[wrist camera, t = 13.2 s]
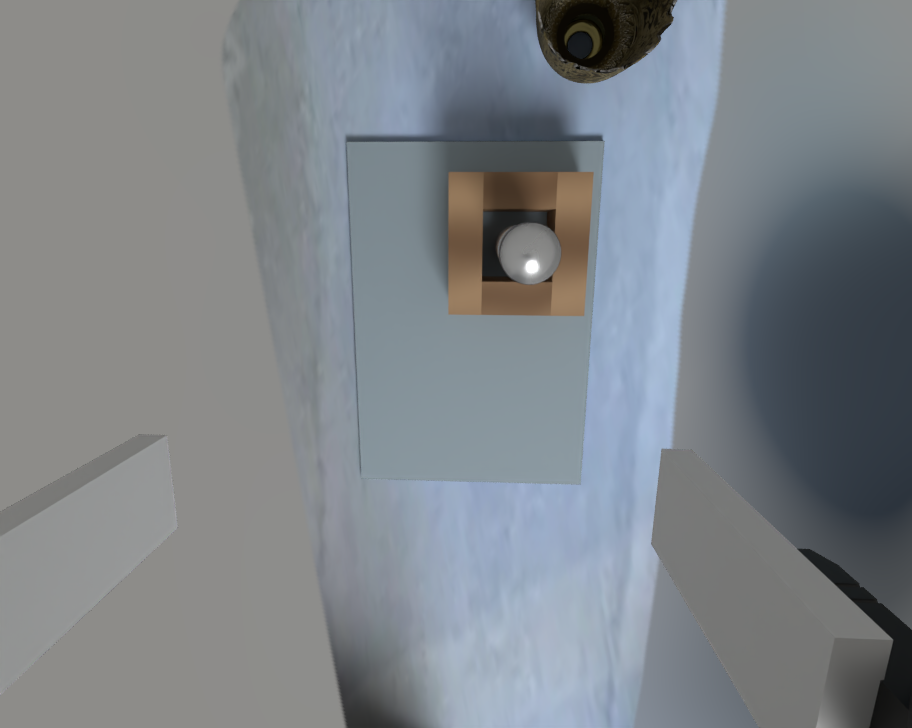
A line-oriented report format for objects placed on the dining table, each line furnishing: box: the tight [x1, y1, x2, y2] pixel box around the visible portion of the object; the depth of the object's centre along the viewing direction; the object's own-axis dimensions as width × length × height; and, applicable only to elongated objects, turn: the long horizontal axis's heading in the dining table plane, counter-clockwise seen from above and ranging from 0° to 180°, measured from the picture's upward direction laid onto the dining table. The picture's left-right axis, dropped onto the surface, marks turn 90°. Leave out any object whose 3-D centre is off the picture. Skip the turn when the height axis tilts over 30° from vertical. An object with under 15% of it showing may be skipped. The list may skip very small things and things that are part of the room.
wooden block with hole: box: [448, 172, 594, 316], centre depth 35 cm, size 9×9×4 cm
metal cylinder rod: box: [495, 222, 561, 285], centre depth 31 cm, size 3×3×14 cm
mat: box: [347, 141, 604, 485], centre depth 39 cm, size 26×18×1 cm
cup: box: [536, 0, 677, 83], centre depth 31 cm, size 7×7×8 cm
